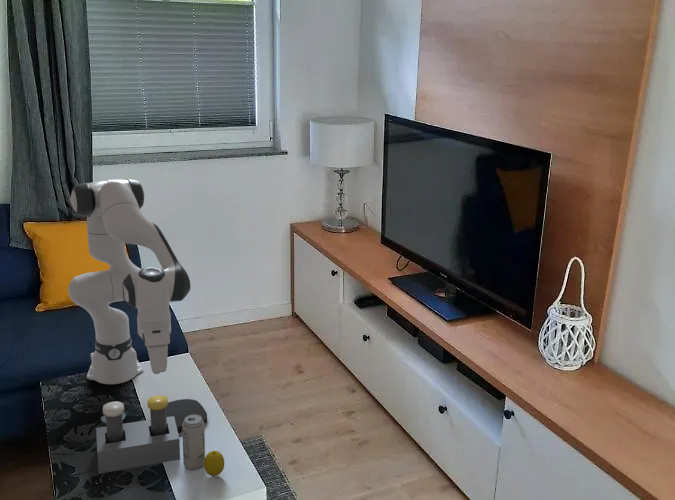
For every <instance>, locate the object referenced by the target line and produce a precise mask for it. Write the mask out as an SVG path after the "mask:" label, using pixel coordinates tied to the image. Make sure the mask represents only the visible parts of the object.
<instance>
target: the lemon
mask: <svg viewBox="0 0 675 500" xmlns="http://www.w3.org/2000/svg"><path fill="white" fill-rule="evenodd" d="M203 467H204V470H205V473H206V474H207V475H209V476H211V477H216V476H218V475H221V473H222V472H223V470H224V468H225V458H224V456H223V454H222V453H221V452H220V451H218V450H212V451H209V452H208V453H207V454H205V460H204V465H203Z"/></svg>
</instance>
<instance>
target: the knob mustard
mask: <svg viewBox="0 0 675 500" xmlns="http://www.w3.org/2000/svg"><path fill="white" fill-rule="evenodd" d="M168 402H169V398H168V397H167V396H165V395H159V394H158V395H154V396H150V397H149V398H148V399H147V408H148V409H149V414H150V415H149V416H150V420H151V436H157V435H164V434H167V420H166V407H167V406H168Z"/></svg>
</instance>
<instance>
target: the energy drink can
mask: <svg viewBox="0 0 675 500" xmlns="http://www.w3.org/2000/svg"><path fill="white" fill-rule="evenodd" d="M205 432H206V431H205V425H204V421H203V420H202V417H201V416H200V415H197V414H192V415H188V416H186V417H185V419H184V422H183V424H182V432H181V433H182V454H183V455H182V456H183V459H182V461H183V465H184V467H185V468H186V469H187V470H190V471H196V470H200V469H201V468H202V467H204V460H205V457H206V443H205V442H206V441H205V439H206V437H205Z"/></svg>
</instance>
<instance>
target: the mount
mask: <svg viewBox="0 0 675 500" xmlns="http://www.w3.org/2000/svg"><path fill="white" fill-rule="evenodd" d="M166 420H167V434H164V435H157V436H151V419H146V420H140V421H139V420H138V421H134V422H133V421H132V422H126V423H123V435H124V441H120V442H114V443H108V442H107V429H106V426H101V427H95V430H96V431H95V434H96V451H97V452H96V453H97V465H98V474H99V475H101V474H104V473H111V472H117V471H123V470H127V469H128V468H129V469H134V468H133V467H135V468H139V466H140V467H145V465H146V466H150V465H156V464H163V463H167V462H175V461H180V460H181V447H180V444H181V443H180V442H181V441H180V435H179V433H178V431H177V426H176V422H175V418H174V416H171V417H166ZM129 469H128V470H129Z"/></svg>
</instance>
